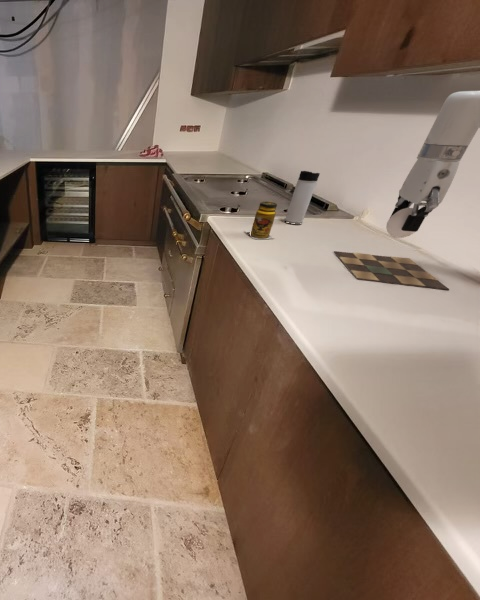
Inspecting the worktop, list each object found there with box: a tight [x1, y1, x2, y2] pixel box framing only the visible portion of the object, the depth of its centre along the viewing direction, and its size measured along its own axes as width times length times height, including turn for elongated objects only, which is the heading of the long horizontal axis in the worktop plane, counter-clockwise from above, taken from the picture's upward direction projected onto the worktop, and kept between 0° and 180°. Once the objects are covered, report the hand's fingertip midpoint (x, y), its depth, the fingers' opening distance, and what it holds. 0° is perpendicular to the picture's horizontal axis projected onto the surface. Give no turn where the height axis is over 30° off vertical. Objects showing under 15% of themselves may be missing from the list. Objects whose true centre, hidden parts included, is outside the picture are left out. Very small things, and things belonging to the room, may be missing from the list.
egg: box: [385, 207, 415, 239], centre depth 85 cm, size 6×6×8 cm
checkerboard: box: [333, 250, 450, 291], centre depth 93 cm, size 20×20×1 cm
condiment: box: [245, 201, 278, 240], centre depth 115 cm, size 7×8×12 cm
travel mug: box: [284, 170, 321, 225], centre depth 125 cm, size 6×7×20 cm
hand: (402, 225), depth 85 cm, fingers closed on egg, 6 cm apart
